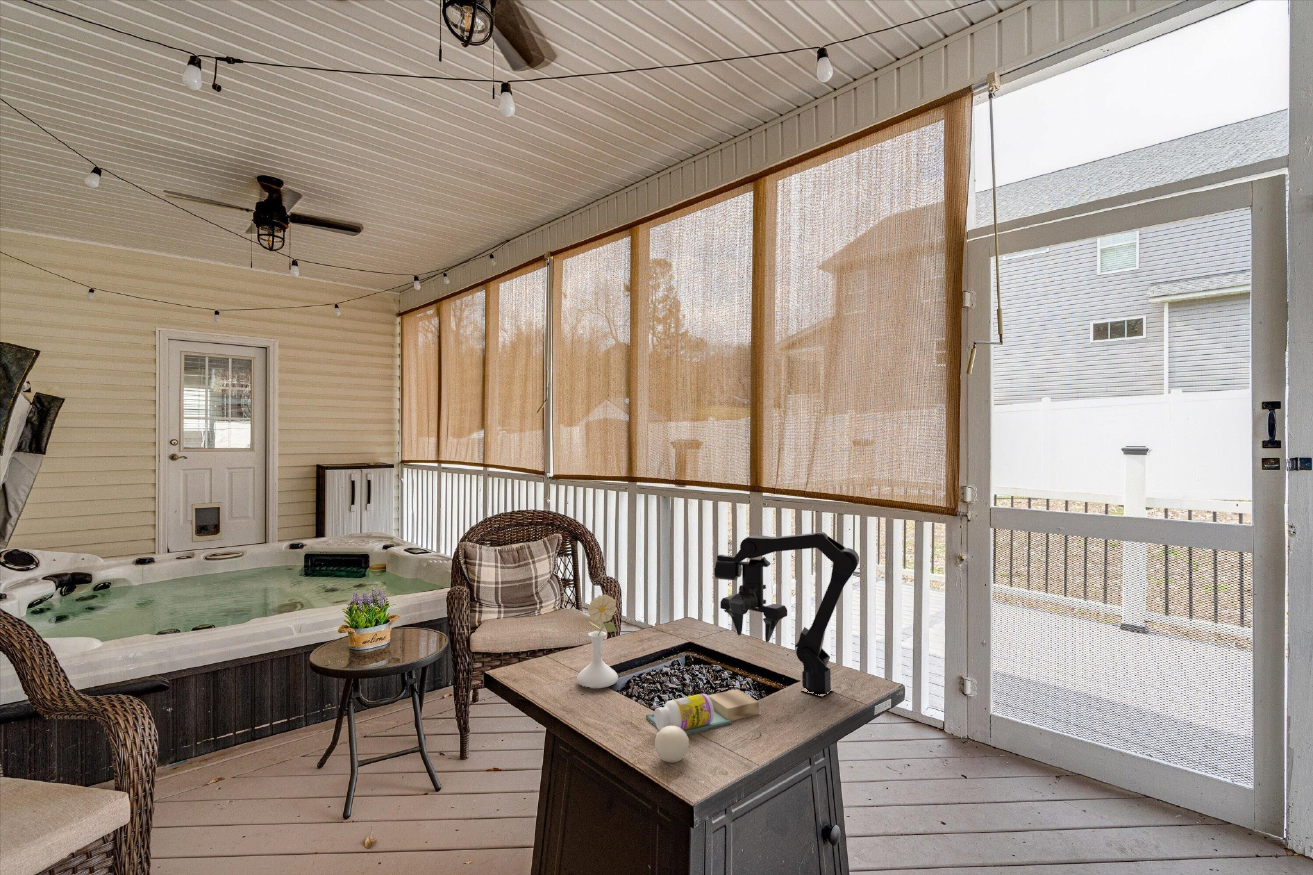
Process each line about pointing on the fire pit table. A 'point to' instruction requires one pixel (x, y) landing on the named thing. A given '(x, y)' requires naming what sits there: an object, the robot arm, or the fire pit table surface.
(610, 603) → the flower in vase
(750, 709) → the block
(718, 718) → the tray
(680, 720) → the supplement bottle
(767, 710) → the fire pit table surface
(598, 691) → the fire pit table surface
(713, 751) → the fire pit table surface
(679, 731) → the cream white ball
